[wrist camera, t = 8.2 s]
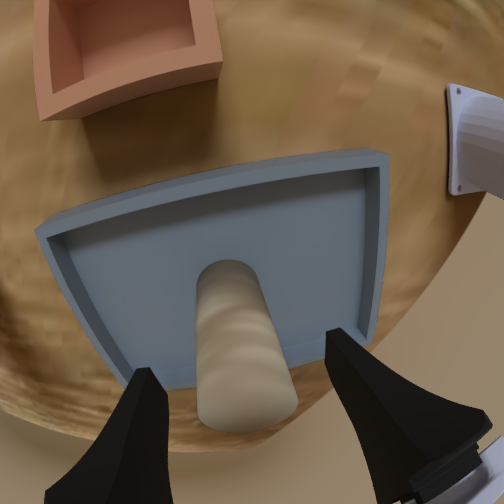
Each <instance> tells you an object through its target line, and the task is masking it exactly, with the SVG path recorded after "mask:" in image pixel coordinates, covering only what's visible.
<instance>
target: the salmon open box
mask: <svg viewBox="0 0 504 504" xmlns="http://www.w3.org/2000/svg"><path fill="white" fill-rule="evenodd" d="M222 63H223V57H222V51H221V46H220V40H219V34H218V28H217V23H216V17H215V11H214V6H213V0H35V4H34V17H33V65H34V80H35V90H36V99H37V106H38V113H39V119H40V122H42V121H52V120H66V119H81V118H84V117H86V116H89V115H91V114H93V113H96V112H99V111H101V110H104V109H107V108H109V107H112V106H115V105H118V104H121V103H124V102H127V101H130V100H133V99H136V98H139V97H142V96H146V95H149V94H153V93H156V92H160V91H164V90H168V89H172V88H176V87H180V86H184V85H189V84H194V83H199V82H204V81H209V80H215V79H218V78H219V74H220V71H221V67H222Z"/></svg>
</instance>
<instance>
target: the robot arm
mask: <svg viewBox="0 0 504 504" xmlns="http://www.w3.org/2000/svg"><path fill="white" fill-rule="evenodd" d="M447 99H448V112H449V132H450V164H449V185H448V191H449V193H450V194H451V195H454V196H455V195H461V194H468V193H474V192H480V191H486V192H489V193H491V194H493V195H495V196H497V197H499V198H501V199H503V200H504V99H501V98H498V97H496V96H493V95H490V94H487V93H484V92H481V91H477V90H474V89H471V88H467V87H464V86H460V85H456V84H448V85H447ZM324 363H325V366H326V368H327V371H328V374H329V377H330V379H331V382H332V384H333V386H334V388H335V390H336V392H337V394H338V396H339V398H340V400H341V402H342V404H343V406H344V408H345V410H346V412H347V414H348V416H349V418H350V420H351V422H352V424H353V426H354V428H355V431H356V433H357V436H358V439H359V442H360V444H361V447H362V450H363V453H364V456H365V459H366V462H367V466H368V469H369V472H370V476H371V479H372V483H373V487H374V491H375V495H376V500H377V504H393V503H395V502H397V501H399V500H400V502H401V504H493V503H494V502H495V501H496V500H497V499H498V498H499V497H500V496H501V495H502V493H503V492H504V437H503V436H502V435H501V436H499V437H498V438H497V439H496V440H495V441H494V442H492V443H491V444H490V445H489V446H488V447H487V448H485V449H484V450H483V451H482V452H480V453H479V454H478V452H477V449H479V446H478V445H477V443H476V442H477V441H478V440H480V439H481V438H482V437H483V436H484V435H485V434H486V433H487V432H488V431H489V430H490V429H491V428H492V426H493V424H492V423H491V421H490V420H489V418H488V416H487V415H486V414H485V412H484V411H483V410H481V409H477V408H473V407H469V406H465V405H461V404H458V403H455V402H452V401H450V400H447V399H445V398H442V397H440V396H438V395H435V394H433V393H430V392H428V391H426V390H424V389H422V388H421V387H419V386H417V385H415V384H413V383H411V382H410V381H408V380H406V379H405V378H403V377H401V376H400V375H399V374H397V373H396V372H394V371H393V370H391V369H390V368H388V367H387V366H386V365H384V364H383V363H382V362H380V361H379V360H378V359H376V358H375V357H374V356H373V355H372V354H370V353H369V352H368V351H367V350H365V349H364V348H363V347H362V346H361V345H360V344H358V343H357V342H356V341H355V340H354V339H353V338H352V337H351V336H350V335H348V334H347V333H346V332H345V331H344V330H343V329H342V328H340V327H339V328H336V329H332V330H329V331H326V340H325V362H324ZM168 433H169V406H168V394H167V393H166V391H165V390H164V388H163V387H162V385H161V384H160V382H159V381H158V379H157V378H156V376H155V375H154V373H153V371H152V370H151V368H150V367H144V368H136V370H135V372H134V374H133V375H132V377H131V379H130V381H129V383H128V385H127V387H126V389H125V391H124V393H123V395H122V396H121V398H120V400H119V402H118V404H117V406H116V408H115V409H114V411H113V413H112V415H111V416H110V418H109V420H108V421H107V423H106V425H105V426H104V428H103V430H102V431H101V433H100V434H99V436H98V437H97V439H96V440H95V441H94V443H93V444H92V446H91V447H90V448H89V449H88V451H87V452H86V453H85V454H84V455H83V457H82V458H81V459H80V460H79V461H78V463H77V464H76V465H75V466H74V467H73V468H72V469H71V470H70V471H69V472H68V473H67V474H66V475H65V476H63V477H62V478H61V479H60V480H59V481H57V482H56V483H55V484H54V485H52V486H51V487H50V488H49V489H47V490H46V491H45V497H44V504H173V499H172V494H171V488H170V481H169V472H168Z"/></svg>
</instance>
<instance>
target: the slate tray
mask: <svg viewBox="0 0 504 504" xmlns="http://www.w3.org/2000/svg"><path fill="white" fill-rule="evenodd" d="M388 216H389V154H387V153H384V152H380V151H376V150H373V149H369V148H363V149H350V150H339V151H329V152H320V153H312V154H304V155H296V156H289V157H282V158H275V159H269V160H262V161H256V162H251V163H245V164H239V165H234V166H229V167H224V168H219V169H214V170H209V171H204V172H200V173H195V174H191V175H186V176H182V177H178V178H174V179H170V180H166V181H162V182H158V183H154V184H150V185H146V186H143V187H139V188H136V189H132V190H129V191H125V192H122V193H118V194H115V195H112V196H108V197H105V198H102V199H99V200H96V201H93V202H90V203H87V204H84V205H81V206H78V207H75V208H72V209H69V210H66V211H64V212H61V213H58V214H55V215H53V216H51V217H50V218H48V219H47V220H46V221H45V222H43V223H42V224H41V225H40V226H38V227H37V228H36V229H35V230H34V231H35V233H36V236H37V238H38V241H39V243H40V246H41V248H42V251H43V253H44V255H45V258H46V260H47V262H48V264H49V267H50V269H51V271H52V273H53V275H54V277H55V279H56V281H57V283H58V285H59V287H60V289H61V291H62V293H63V295H64V297H65V299H66V301H67V302H68V304H69V306H70V308H71V310H72V311H73V313H74V315H75V317H76V318H77V320H78V322H79V323H80V325H81V327H82V328H83V330H84V332H85V333H86V335H87V336H88V338H89V340H90V341H91V343H92V344H93V346H94V347H95V349H96V350H97V352H98V353H99V355H100V356H101V358H102V359H103V360H104V362H105V363H106V365H107V366H108V367H109V369H110V370H111V372H112V373H113V374H114V376H115V377H116V378H117V380H118V381H119V382H120V384H121V385H122V386H123V387H124V389H126V387H127V385H128V383H129V381H130V379H131V377H132V375H133V374H134V372H135V370H136V368H144V367H150V368H151V370H152V371H153V373H154V375H155V376H156V378H157V379H158V381H159V382H160V384H161V385H162V387H163V388H164V390H165V391H168V390H177V389H185V388H193V387H197V378H196V284H197V280H198V277H199V275H200V273H201V272H202V271H203V270H204V269H205V268H206V267H207V266H208V265H210V264H212V263H214V262H216V261H220V260H225V259H233V260H238V261H241V262H244V263H246V264H247V265H249V266H250V267H251V268H252V269H253V270H254V271H255V273H256V275H257V277H258V280H259V283H260V286H261V289H262V292H263V295H264V298H265V301H266V304H267V307H268V310H269V313H270V316H271V319H272V322H273V325H274V328H275V331H276V334H277V337H278V340H279V343H280V346H281V349H282V352H283V355H284V358H285V361H286V364H287V367H288V369H290V368H294V367H297V366H301V365H305V364H308V363H312V362H316V361H319V360H322V359H325V340H326V331H329V330H332V329H336V328H339V327H340V328H342V329H343V330H344V331H345V332H346V333H347V334H348V335H350V336H351V337H352V338H353V339H354V340H355V341H356V342H357V343H358V344H360V345H361V346H365V345H368V344H371V343H373V338H374V333H375V328H376V323H377V317H378V311H379V305H380V298H381V291H382V284H383V276H384V267H385V258H386V247H387V233H388Z"/></svg>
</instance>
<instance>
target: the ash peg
mask: <svg viewBox="0 0 504 504" xmlns="http://www.w3.org/2000/svg"><path fill="white" fill-rule="evenodd" d="M196 378H197V406H198V417H199V419H200V421H201V422H202V423H203V424H205V425H206V426H208V427H210V428H212V429H214V430H217V431H222V432H228V433H248V432H255V431H260V430H264V429H267V428H270V427H273V426H275V425H277V424H279V423H281V422H283V421H284V420H286V419H287V418H288V417H290V416H291V415H292V414H293V413H294V411H295V410H296V408H297V406H298V397H297V394H296V391H295V388H294V385H293V382H292V379H291V376H290V373H289V370H288V367H287V364H286V361H285V358H284V355H283V352H282V349H281V346H280V343H279V340H278V337H277V334H276V331H275V328H274V325H273V322H272V319H271V316H270V313H269V310H268V307H267V304H266V301H265V298H264V295H263V292H262V289H261V286H260V283H259V280H258V277H257V275H256V273H255V271H254V270H253V269H252V268H251V267H250V266H249V265H247V264H246V263H244V262H241V261H238V260H233V259H225V260H220V261H216V262H214V263H212V264H210V265H208V266H207V267H206V268H205V269H204V270H203V271H202V272H201V273H200V275H199V277H198V280H197V284H196Z"/></svg>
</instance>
